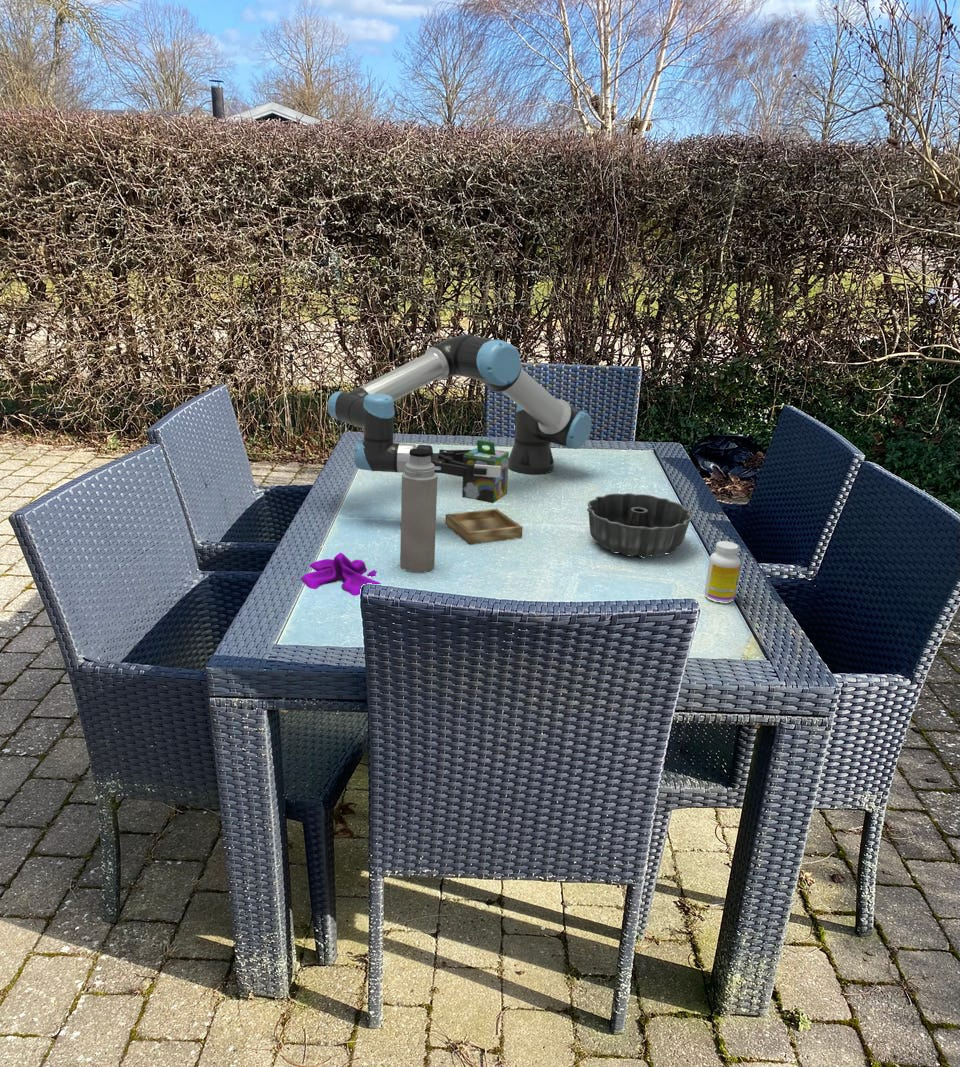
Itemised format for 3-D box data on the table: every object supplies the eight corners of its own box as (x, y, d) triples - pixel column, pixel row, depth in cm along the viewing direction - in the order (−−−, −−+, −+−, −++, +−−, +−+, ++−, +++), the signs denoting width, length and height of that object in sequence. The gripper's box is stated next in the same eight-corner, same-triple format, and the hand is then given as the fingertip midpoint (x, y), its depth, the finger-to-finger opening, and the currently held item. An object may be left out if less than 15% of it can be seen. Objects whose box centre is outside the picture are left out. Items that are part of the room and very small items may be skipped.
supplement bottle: (738, 604, 197) (747, 550, 192) (709, 604, 196) (717, 550, 191) (728, 592, 203) (736, 539, 198) (700, 592, 202) (707, 539, 198)
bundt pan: (679, 573, 213) (684, 533, 209) (572, 554, 221) (575, 516, 217) (694, 538, 236) (699, 502, 233) (596, 522, 244) (600, 487, 241)
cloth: (377, 599, 191) (378, 573, 189) (291, 594, 192) (291, 568, 190) (391, 560, 212) (391, 536, 210) (313, 556, 213) (313, 532, 210)
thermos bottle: (408, 557, 213) (410, 443, 203) (439, 563, 211) (443, 448, 201) (394, 569, 206) (396, 451, 196) (426, 575, 204) (430, 456, 194)
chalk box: (507, 494, 231) (511, 439, 226) (493, 504, 223) (497, 446, 218) (475, 488, 235) (478, 433, 230) (460, 497, 227) (463, 441, 222)
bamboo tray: (495, 519, 242) (496, 508, 241) (521, 537, 229) (522, 527, 228) (445, 525, 236) (445, 514, 235) (469, 544, 223) (469, 533, 222)
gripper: (422, 461, 239) (503, 467, 238) (408, 486, 217) (498, 493, 216) (422, 434, 237) (505, 439, 236) (409, 456, 215) (499, 463, 214)
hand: (501, 465), depth 226 cm, fingers closed on chalk box, 11 cm apart
